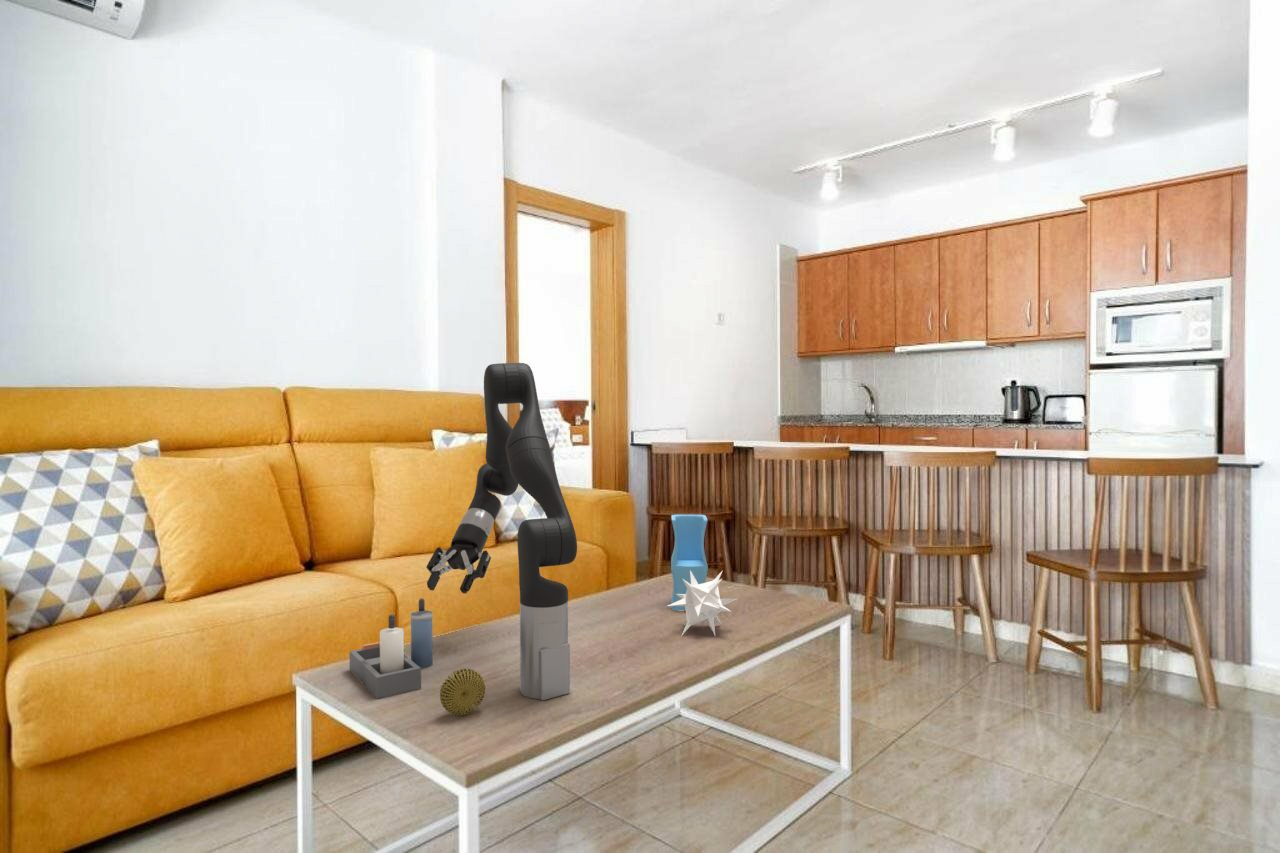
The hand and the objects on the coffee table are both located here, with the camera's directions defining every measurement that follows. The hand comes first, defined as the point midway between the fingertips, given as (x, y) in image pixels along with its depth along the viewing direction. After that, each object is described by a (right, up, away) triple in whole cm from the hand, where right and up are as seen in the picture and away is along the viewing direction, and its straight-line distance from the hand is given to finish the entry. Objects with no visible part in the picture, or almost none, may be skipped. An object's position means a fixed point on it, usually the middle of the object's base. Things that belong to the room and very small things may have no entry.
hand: (446, 590), depth 159 cm
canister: (-3, -14, -9) cm, 17 cm away
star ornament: (+59, -14, +15) cm, 63 cm away
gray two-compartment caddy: (-8, -14, -17) cm, 23 cm away
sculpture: (+12, -15, -34) cm, 39 cm away
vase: (+57, -14, +38) cm, 70 cm away
